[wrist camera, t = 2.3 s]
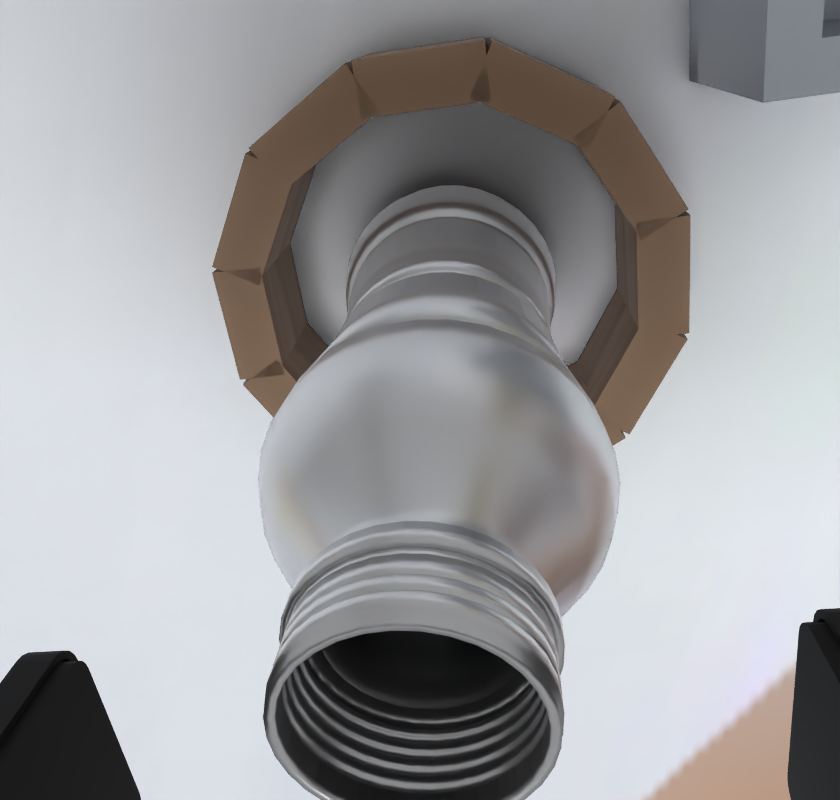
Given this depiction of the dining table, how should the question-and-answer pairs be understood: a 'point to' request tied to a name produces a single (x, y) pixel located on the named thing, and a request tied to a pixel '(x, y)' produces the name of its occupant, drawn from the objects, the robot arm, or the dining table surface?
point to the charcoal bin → (766, 47)
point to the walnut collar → (442, 87)
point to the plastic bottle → (433, 516)
